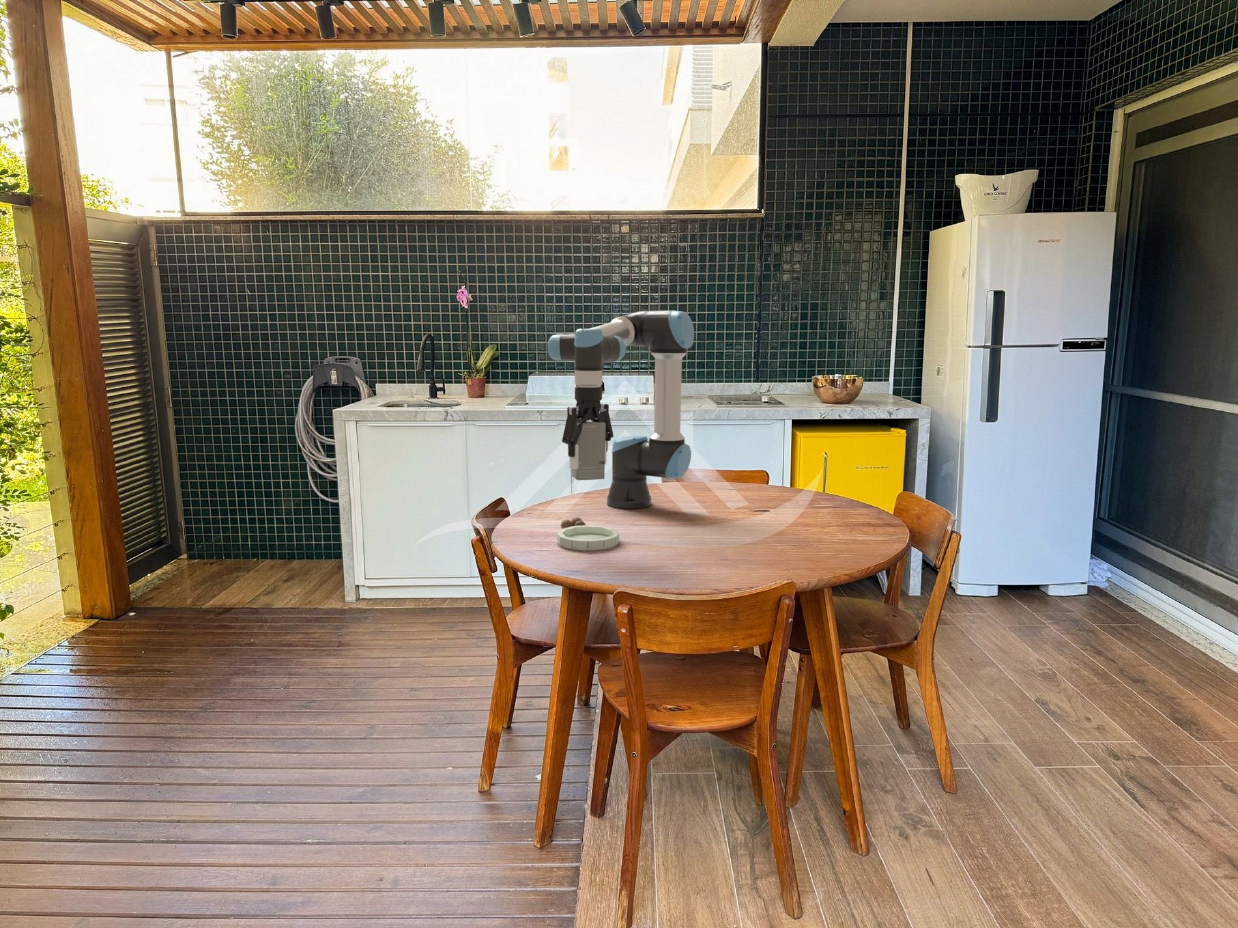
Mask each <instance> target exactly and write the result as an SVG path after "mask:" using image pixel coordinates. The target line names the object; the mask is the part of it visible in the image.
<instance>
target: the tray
mask: <svg viewBox="0 0 1238 928" xmlns="http://www.w3.org/2000/svg"><path fill="white" fill-rule="evenodd" d="M556 540H557V544H558V546H559V547H561V548H563V549H567V550H572V551H581V552H593V551H595V552H597V551H598V552H599V551H604V550H609V549H612V548H615V547H616V546H618V544H619V541H620V532H619V530H616V529H615V528H613V527H608V526H603V525H590V524H589V525H587V524H586V525H584V526H572V527H568V528H564V529H562V528H560V529H559V530H558V531H557V532H556Z"/></svg>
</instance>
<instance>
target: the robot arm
mask: <svg viewBox="0 0 1238 928" xmlns="http://www.w3.org/2000/svg"><path fill="white" fill-rule="evenodd" d="M694 339H695V328H694V323H693V320H692V318H691V317H690V315H688V313H686V312H685V311H681V310H640V311H639V310H638V311H634V312H631V313H628V314H625V315H622V316H618V317H614V318H613V319H612V320H611V321H610V322H608V323H604V324H602V325H598V326H594V327H590V328H578V329H576V330H575V332H573V333H567V334H563V333H559V334H553V335H552V336H550V338H549V340H548V342H547V353H548V355H549V357H550V358H551V360H554V361H559V362H574V385H576V386H575V387H574V400H575V401H576V403H575V406H568V407H567V408H566V409H567V410H566V412H567V413H566V414H567V416H566V420H565V424H564V430H563V434H562V439H561V442H562V443H563V444H566V445H567V454H568V457H569V469H571V470H572V469H578V445H576V443H577V440H578V438H579V436H580V433H581V431H582V425H583V423H586V422H587V421H592V422H603V423H606V429H605V465H607V452H608V449H609V448H608V447H609V445H608V443H609V442H610V441H611V440H612V439H613V437H614V431H613V427H612V421H611V417H610V413H609V412H610V410H609V409H610V405H609V404H608V403H601V401H602V400H603V387H602V385H603V363H615V362H619V361H621V360H622V359H623V358H624V356H625V355H626V352H627V351H626V350H627V347H641V348H645V347H646V348H650V355H652V356H653V357H654V361H655V362H654V405H653V406H654V409H653V411H654V412H653V419H654V420H653V432H652V433H651V435H649V439H648V436H647V435H631V436H623V437H619V438H616V439H614V440H613V442H612V450H611V453H612V454H611V456H612V457H611V458H612V461H611V462H612V463H611V465H612V466H611V470H612V471H611V472H612V473H611V475H612V479H611V481H612V482H611V484H610V488H609V492H608V494H607V497H606V504H607V505H608V506H609V507H612V508H616V509H625V510H626V509H627V510H628V509H631V510H634V509H636V510H637V509H643V508H648V507H651V506H652V496H651V495H650V491H649V486H648V483H647V477H653V478H654V477H656V478H664V479H666V480H670V479H673V480H674V479H675V480H676V479H681V478H683V477H684V476H685V475H686V473H687V472H688V470H689V467H690V464H691V458H692V450H691V447H690V445H689V444H687V443H685V439H686V438H685V436H684V435H683V434H682V432H681V415H682V414H681V410H682V409H681V406H682V373H683V372H682V363H683V358H684V357H685V356H686V355H687V351H688V349H690V348H691V347H692V346H693V344H694V341H695V340H694ZM577 423H580V424H579V425H578V426H577Z"/></svg>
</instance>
